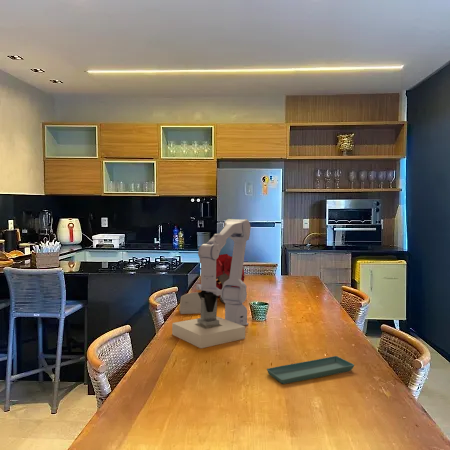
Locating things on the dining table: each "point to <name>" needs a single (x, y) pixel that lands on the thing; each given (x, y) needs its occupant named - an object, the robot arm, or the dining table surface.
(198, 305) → the grey rounded block
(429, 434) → the dining table surface
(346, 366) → the rectangular tray
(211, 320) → the tall grey block
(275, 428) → the dining table surface
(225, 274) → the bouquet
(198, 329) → the well block
